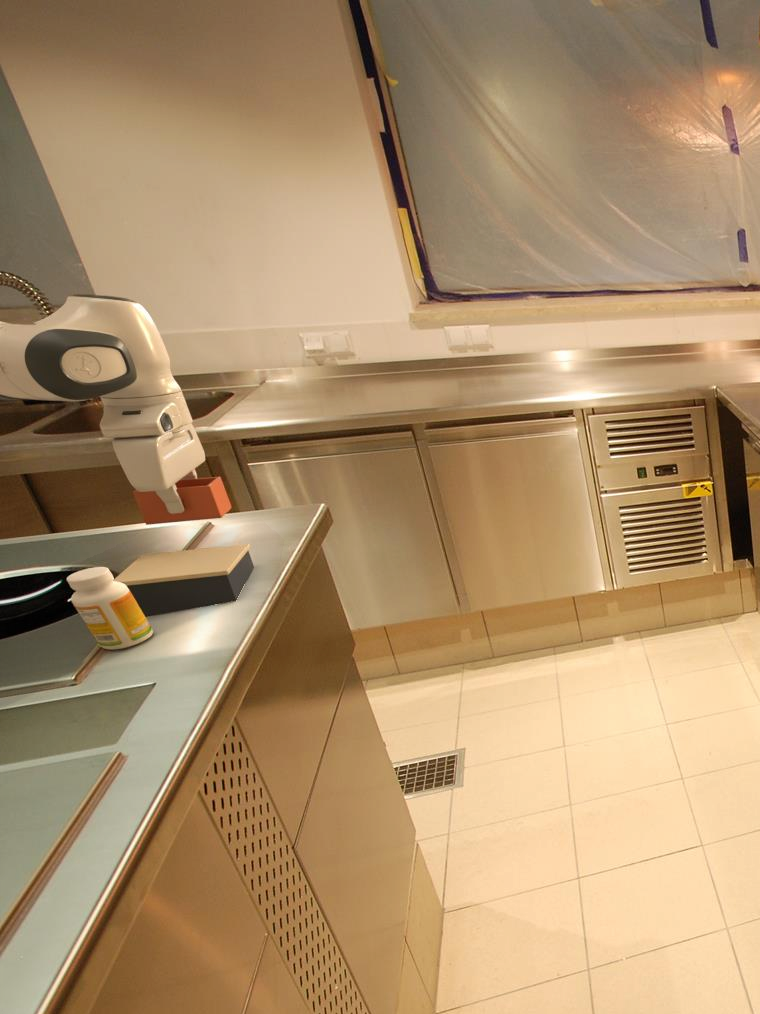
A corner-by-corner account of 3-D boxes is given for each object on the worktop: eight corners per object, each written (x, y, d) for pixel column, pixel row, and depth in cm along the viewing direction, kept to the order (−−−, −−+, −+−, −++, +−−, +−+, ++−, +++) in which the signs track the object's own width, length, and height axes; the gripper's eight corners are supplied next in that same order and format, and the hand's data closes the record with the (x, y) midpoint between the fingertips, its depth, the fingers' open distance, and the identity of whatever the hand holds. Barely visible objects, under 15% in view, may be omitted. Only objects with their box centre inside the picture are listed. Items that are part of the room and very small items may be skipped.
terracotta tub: (146, 524, 124) (132, 492, 122) (159, 514, 129) (146, 482, 127) (221, 517, 128) (209, 486, 126) (231, 507, 133) (220, 476, 131)
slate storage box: (127, 624, 114) (109, 583, 112) (157, 592, 124) (142, 554, 122) (241, 610, 119) (227, 570, 117) (262, 580, 130) (249, 543, 127)
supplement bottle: (152, 624, 113) (113, 560, 108) (156, 639, 109) (117, 573, 104) (99, 639, 110) (57, 573, 104) (102, 655, 106) (59, 587, 101)
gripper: (146, 403, 129) (181, 490, 135) (93, 428, 113) (135, 526, 119) (198, 400, 132) (229, 486, 138) (153, 425, 115) (191, 521, 121)
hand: (185, 505), depth 128 cm, fingers closed on terracotta tub, 6 cm apart
